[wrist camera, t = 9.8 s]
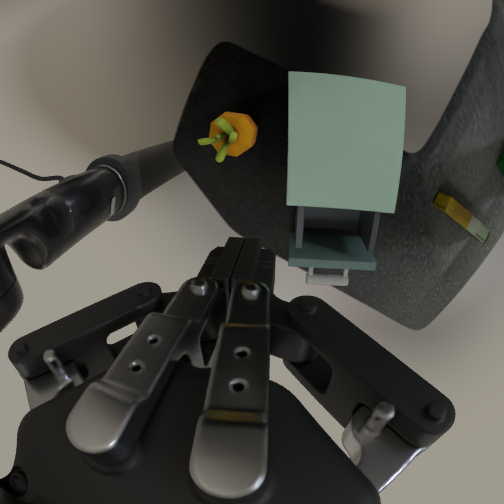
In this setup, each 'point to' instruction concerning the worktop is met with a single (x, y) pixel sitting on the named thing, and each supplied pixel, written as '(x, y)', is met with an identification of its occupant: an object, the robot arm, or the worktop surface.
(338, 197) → the green drawer housing
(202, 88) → the worktop surface
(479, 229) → the medication box
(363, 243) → the green drawer
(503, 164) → the milk carton
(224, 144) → the carrot
